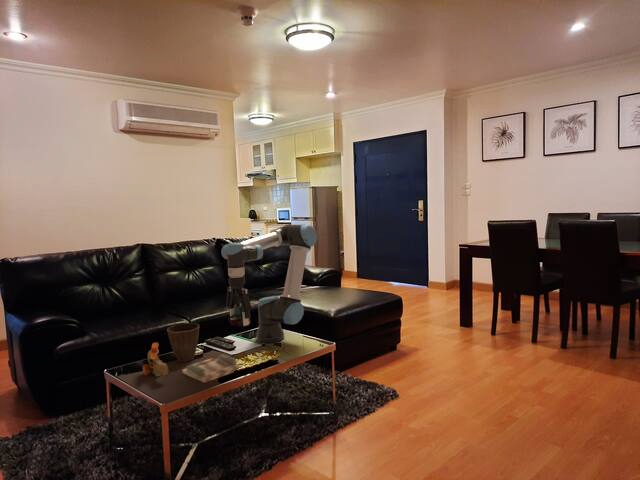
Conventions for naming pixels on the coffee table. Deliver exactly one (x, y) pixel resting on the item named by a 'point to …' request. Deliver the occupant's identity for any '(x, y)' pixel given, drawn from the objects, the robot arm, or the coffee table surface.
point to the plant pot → (184, 340)
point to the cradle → (211, 368)
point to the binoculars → (238, 315)
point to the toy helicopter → (155, 363)
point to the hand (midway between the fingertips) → (239, 323)
